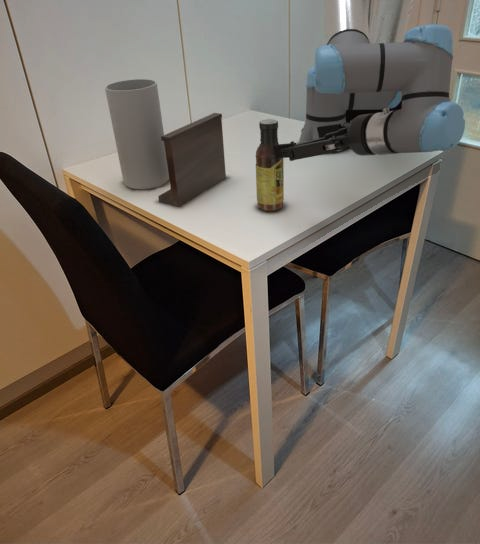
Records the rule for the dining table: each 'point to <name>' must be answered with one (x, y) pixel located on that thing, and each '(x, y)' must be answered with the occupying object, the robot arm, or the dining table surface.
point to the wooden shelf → (194, 159)
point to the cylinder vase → (138, 132)
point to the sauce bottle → (269, 168)
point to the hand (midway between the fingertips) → (297, 141)
